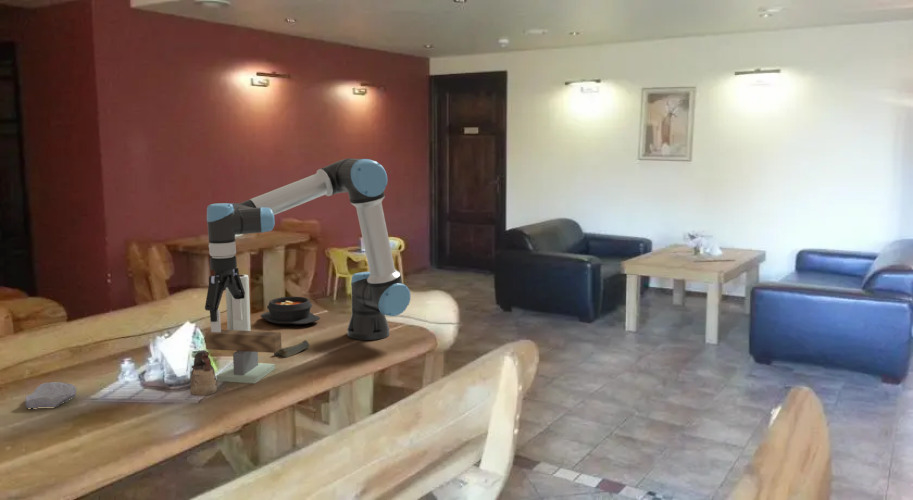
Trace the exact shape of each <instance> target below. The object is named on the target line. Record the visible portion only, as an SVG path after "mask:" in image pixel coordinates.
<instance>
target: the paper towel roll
mask: <svg viewBox="0 0 913 500" xmlns="http://www.w3.org/2000/svg"><path fill="white" fill-rule="evenodd" d="M239 276H240V279H241V282H242V285H243V288H244V291H245V297H244V299H243V298H241V303H242V320H233V309H232V299H235V298H233V296H232V294H231V293H230V291H229V289H228V287H226V289H225V302H226V303H225V304H226V322H227V323H226V327H227V329H226V330H241V331H252V330H251V310H250V309H251V307H250V306H251V304H250V284H249V283H250V281H249V280H250V278H249V275H248V274H241V273H239ZM240 291H241V290H240Z"/></svg>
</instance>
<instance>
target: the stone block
mask: <svg viewBox="0 0 913 500" xmlns="http://www.w3.org/2000/svg"><path fill="white" fill-rule="evenodd" d="M76 393H77V387H76V386H75V385H74V384H72V383H67V382H66V383H65V382H61V381H51V382H43V383H40V384H39V385H38V386H37V387H36V388H35V389H34V391H33V392H32V393H31V394H30V395H29V394H27V395H25V399H24V400H25V402H24V403H25V407H26V409H27V408H38V407H56V406H58V405H60V404H62V403H63V402H66V401H68V400H69V399H71V398H73V397H74V398H76ZM74 398H73V399H74ZM71 400H72V399H71ZM68 402H69V401H68ZM66 403H67V402H66ZM62 405H63V404H62ZM60 406H61V405H60ZM58 407H59V406H58ZM56 408H57V407H56Z"/></svg>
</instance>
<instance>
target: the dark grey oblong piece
mask: <svg viewBox="0 0 913 500" xmlns="http://www.w3.org/2000/svg"><path fill="white" fill-rule="evenodd" d="M309 347H310V343H309V342H308V341H307V340H306V339H305V340H303V341H302V342H300V343H297V344H295V345H291V346H287V347H283V348H282V347H281V348H282V349H280V350H279V351H277V352H276V353H273V355H274V356H275V357H283V358H290V357H292V356H294V355H297V354H299V353H301V352H302V351H306V350H308V349H309Z"/></svg>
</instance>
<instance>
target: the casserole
mask: <svg viewBox="0 0 913 500" xmlns="http://www.w3.org/2000/svg"><path fill="white" fill-rule="evenodd" d="M312 306H313V304H312V303H311V300H310V299H309V298H306V297H303V296H281V297H276V298H274V299H271V300H270V301H269V303H268V305H267V306H266V307H267V310H268V311H267V312H264V313H261V314H260V317H261V318H262V319H265V321H267V322H270V323H273V324H277V325H281V326H295V325H307V324H311V323H314V322H317V321H319V320H320V319H321V317H320V316H317V315H315V314H314V313H312V312H311V308H312Z"/></svg>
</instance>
